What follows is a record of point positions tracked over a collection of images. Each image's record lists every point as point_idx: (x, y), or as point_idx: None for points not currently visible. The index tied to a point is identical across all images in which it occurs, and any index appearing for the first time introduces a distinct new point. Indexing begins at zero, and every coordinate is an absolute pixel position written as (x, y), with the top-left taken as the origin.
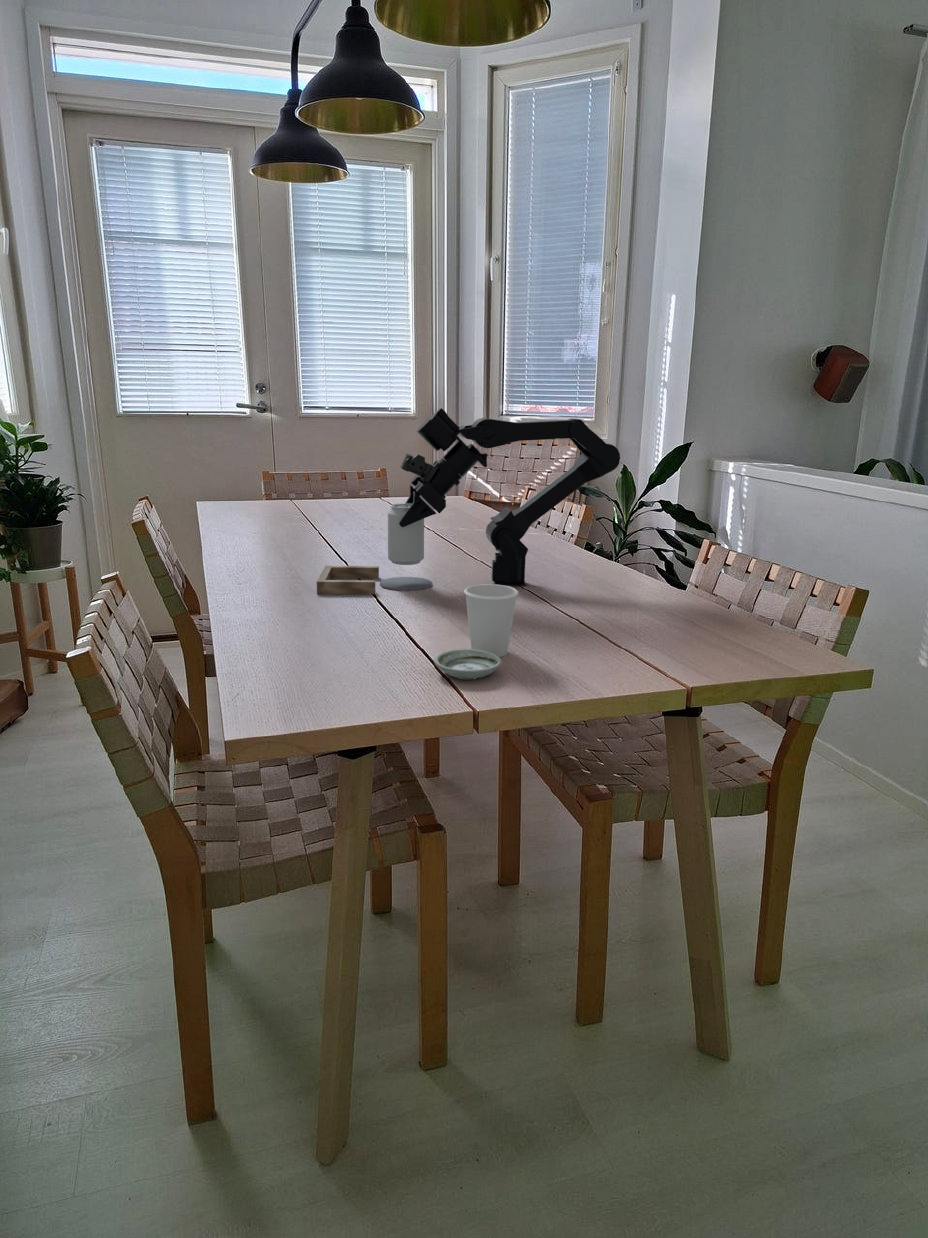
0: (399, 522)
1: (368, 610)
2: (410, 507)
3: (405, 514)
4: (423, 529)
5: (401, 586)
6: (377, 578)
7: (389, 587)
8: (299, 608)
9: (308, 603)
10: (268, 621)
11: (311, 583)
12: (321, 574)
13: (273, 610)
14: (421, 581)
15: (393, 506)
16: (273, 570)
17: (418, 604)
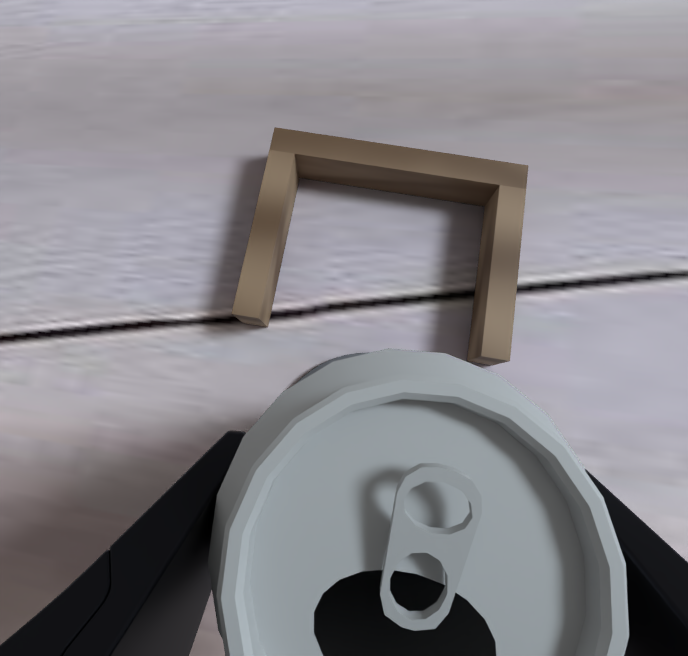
0: (234, 436)
1: (54, 282)
2: (61, 601)
3: (154, 505)
4: (334, 646)
5: None
6: (467, 356)
7: (301, 379)
8: (128, 105)
9: (176, 128)
10: (24, 36)
11: (422, 143)
12: (381, 146)
13: (125, 46)
14: None
15: (342, 397)
16: (616, 42)
17: (80, 448)
